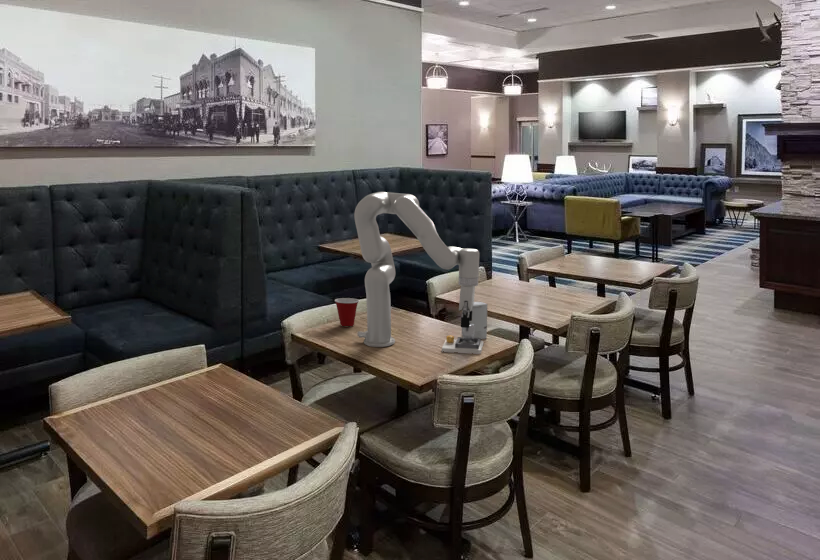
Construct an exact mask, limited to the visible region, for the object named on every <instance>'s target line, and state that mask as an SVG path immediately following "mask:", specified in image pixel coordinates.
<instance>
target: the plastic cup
mask: <svg viewBox="0 0 820 560" xmlns="http://www.w3.org/2000/svg"><path fill="white" fill-rule="evenodd" d="M359 302H360V299H357V298H350V297H342V298H336V299H334V303H335V305H336V309H337V314H338V319H339V324H340V326H341V325H342V326H352V327H354V326H355V319H356V314H357V307H358V304H359ZM353 325H354V326H353ZM342 326H341V327H342Z"/></svg>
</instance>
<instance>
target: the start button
mask: <svg viewBox="0 0 820 560" xmlns="http://www.w3.org/2000/svg"><path fill="white" fill-rule="evenodd" d="M454 339H455V335H451V334H450V335H449V334H448V335H446V339H445V340H446V342H449V343H451V342H454Z"/></svg>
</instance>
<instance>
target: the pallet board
mask: <svg viewBox="0 0 820 560" xmlns="http://www.w3.org/2000/svg"><path fill="white" fill-rule="evenodd" d="M461 340H462V336H458V337H457V339H455V338H454V342H451V343H449V342H446V339H445V340H444V343H443V344H442V347H441V352H442V353H454V352H458V354H472V353H473V355H474V354H475V355H476V354H477V355H481V354H482V351H483V348H482V347H484V340H482V339H481V338H474V344H463V343H461ZM443 351H444V352H443Z"/></svg>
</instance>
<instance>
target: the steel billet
mask: <svg viewBox="0 0 820 560" xmlns="http://www.w3.org/2000/svg"><path fill="white" fill-rule="evenodd" d="M474 332H475V325H474V324H471V323H469V328H464V327H461V337H462V340H461V343H463V344H474Z"/></svg>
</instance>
